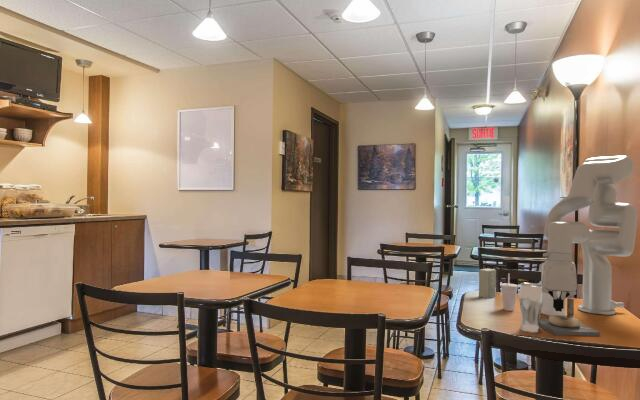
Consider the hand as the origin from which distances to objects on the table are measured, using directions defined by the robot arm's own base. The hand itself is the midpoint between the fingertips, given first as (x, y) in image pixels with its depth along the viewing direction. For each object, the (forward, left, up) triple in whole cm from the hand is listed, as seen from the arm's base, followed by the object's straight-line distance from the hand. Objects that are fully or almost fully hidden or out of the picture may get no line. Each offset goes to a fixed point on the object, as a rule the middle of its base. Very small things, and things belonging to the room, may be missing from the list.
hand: (558, 310), depth 155 cm
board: (+1, +6, -5) cm, 7 cm away
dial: (+1, +5, -3) cm, 6 cm away
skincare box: (+9, -42, -5) cm, 43 cm away
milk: (-5, -13, -5) cm, 15 cm away
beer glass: (+14, +9, -5) cm, 17 cm away
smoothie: (+9, -19, -5) cm, 22 cm away
